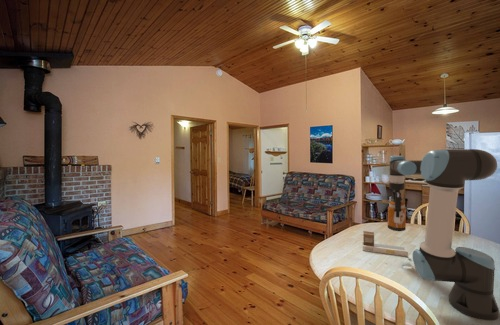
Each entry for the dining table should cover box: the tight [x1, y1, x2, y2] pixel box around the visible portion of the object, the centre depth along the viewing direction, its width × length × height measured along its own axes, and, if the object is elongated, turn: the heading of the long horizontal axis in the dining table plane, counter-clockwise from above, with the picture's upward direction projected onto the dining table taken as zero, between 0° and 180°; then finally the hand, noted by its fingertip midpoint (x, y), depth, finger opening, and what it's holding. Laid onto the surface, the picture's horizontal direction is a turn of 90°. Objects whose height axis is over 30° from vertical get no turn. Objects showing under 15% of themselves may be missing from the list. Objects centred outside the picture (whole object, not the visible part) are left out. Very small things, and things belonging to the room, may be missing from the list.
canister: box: [387, 196, 407, 232], centre depth 143 cm, size 9×11×20 cm
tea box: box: [362, 230, 375, 246], centre depth 158 cm, size 6×6×9 cm
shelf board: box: [361, 241, 409, 259], centre depth 155 cm, size 14×24×4 cm, turn 66°
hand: (395, 219), depth 144 cm, fingers closed on canister, 11 cm apart
